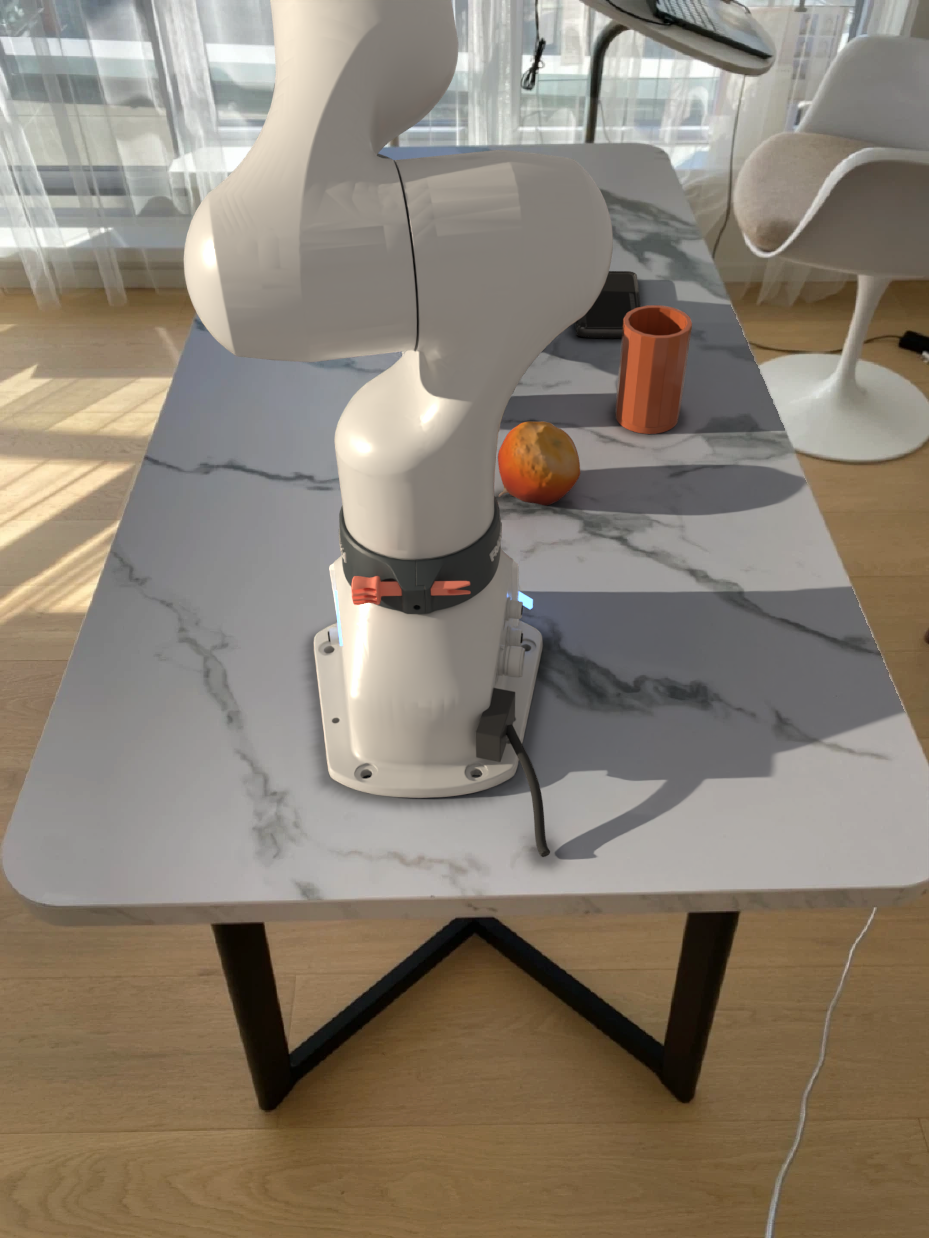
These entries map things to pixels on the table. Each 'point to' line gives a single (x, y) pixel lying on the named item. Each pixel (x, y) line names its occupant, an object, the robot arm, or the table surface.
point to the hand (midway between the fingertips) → (554, 324)
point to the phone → (610, 307)
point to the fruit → (538, 463)
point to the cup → (652, 368)
